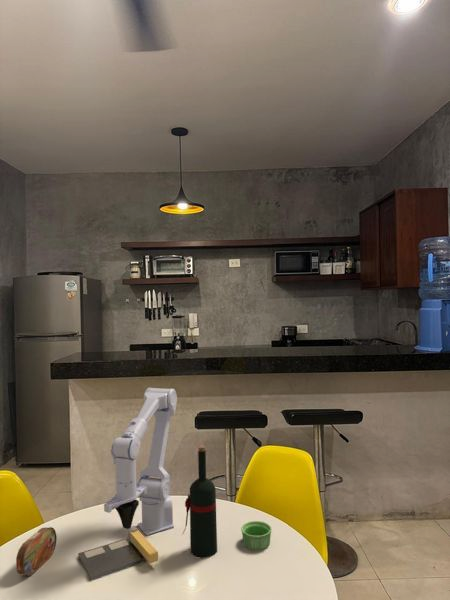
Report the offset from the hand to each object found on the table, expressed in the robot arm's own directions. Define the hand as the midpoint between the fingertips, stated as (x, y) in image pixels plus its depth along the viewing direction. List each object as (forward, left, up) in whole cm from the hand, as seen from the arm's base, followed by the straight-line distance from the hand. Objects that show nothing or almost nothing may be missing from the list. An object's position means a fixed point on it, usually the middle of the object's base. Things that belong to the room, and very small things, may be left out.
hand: (127, 527), depth 126 cm
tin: (+23, -10, -8) cm, 26 cm away
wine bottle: (-18, +9, -8) cm, 22 cm away
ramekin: (-34, +15, -8) cm, 39 cm away
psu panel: (+4, -1, -8) cm, 9 cm away
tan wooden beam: (-4, +2, -6) cm, 7 cm away
